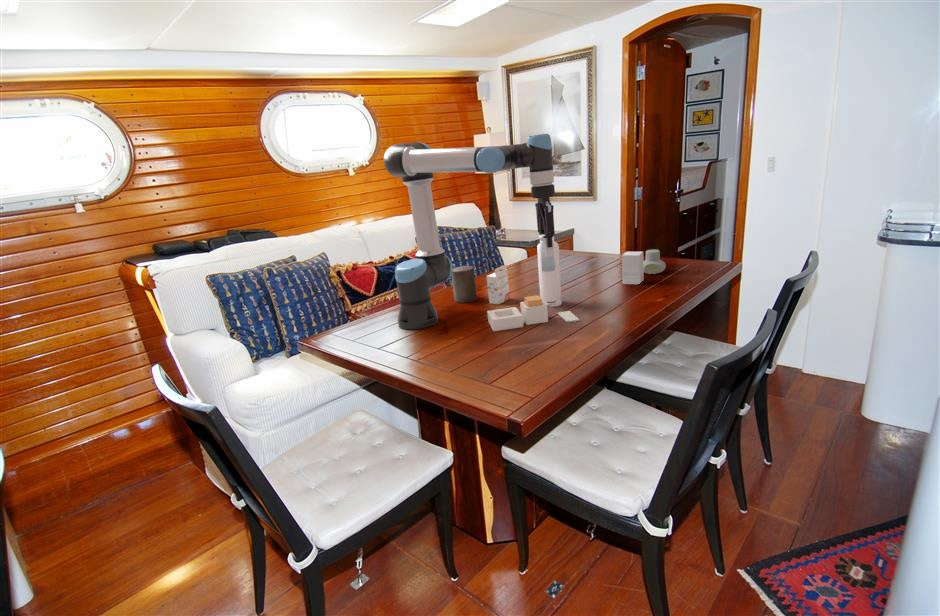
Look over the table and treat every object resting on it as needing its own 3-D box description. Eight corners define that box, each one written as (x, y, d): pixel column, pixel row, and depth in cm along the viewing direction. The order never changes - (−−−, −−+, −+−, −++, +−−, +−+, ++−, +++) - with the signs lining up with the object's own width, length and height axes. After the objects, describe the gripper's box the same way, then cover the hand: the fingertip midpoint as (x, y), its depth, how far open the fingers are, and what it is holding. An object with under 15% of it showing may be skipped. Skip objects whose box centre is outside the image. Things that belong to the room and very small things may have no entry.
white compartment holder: (493, 333, 163) (492, 314, 161) (488, 324, 173) (486, 305, 170) (549, 325, 165) (548, 306, 163) (541, 316, 175) (539, 298, 172)
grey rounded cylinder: (543, 272, 161) (540, 237, 158) (539, 269, 166) (537, 235, 162) (557, 270, 162) (555, 235, 158) (553, 267, 166) (551, 233, 163)
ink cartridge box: (500, 297, 203) (497, 263, 198) (510, 298, 200) (507, 264, 195) (488, 303, 196) (485, 268, 192) (498, 304, 193) (495, 269, 189)
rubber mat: (551, 325, 165) (551, 323, 165) (543, 316, 174) (543, 314, 174) (579, 321, 166) (579, 319, 166) (569, 312, 175) (569, 310, 175)
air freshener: (639, 275, 213) (639, 253, 210) (639, 270, 220) (639, 249, 217) (666, 274, 209) (666, 252, 206) (665, 270, 217) (665, 248, 214)
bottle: (552, 308, 182) (548, 235, 174) (536, 304, 188) (531, 233, 180) (565, 302, 187) (562, 231, 178) (550, 299, 193) (546, 230, 184)
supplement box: (644, 280, 205) (644, 251, 201) (639, 285, 199) (639, 255, 195) (626, 279, 209) (626, 251, 205) (621, 284, 203) (621, 254, 199)
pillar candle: (480, 299, 202) (476, 265, 198) (458, 304, 199) (454, 269, 195) (471, 295, 211) (468, 261, 207) (451, 299, 208) (447, 265, 204)
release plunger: (529, 323, 166) (527, 301, 164) (525, 318, 171) (524, 297, 169) (543, 321, 167) (542, 299, 164) (539, 316, 172) (538, 295, 169)
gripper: (562, 184, 147) (566, 258, 154) (546, 182, 164) (550, 249, 171) (538, 187, 147) (543, 261, 154) (524, 185, 164) (530, 252, 171)
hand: (547, 255), depth 162 cm, fingers closed on grey rounded cylinder, 5 cm apart
